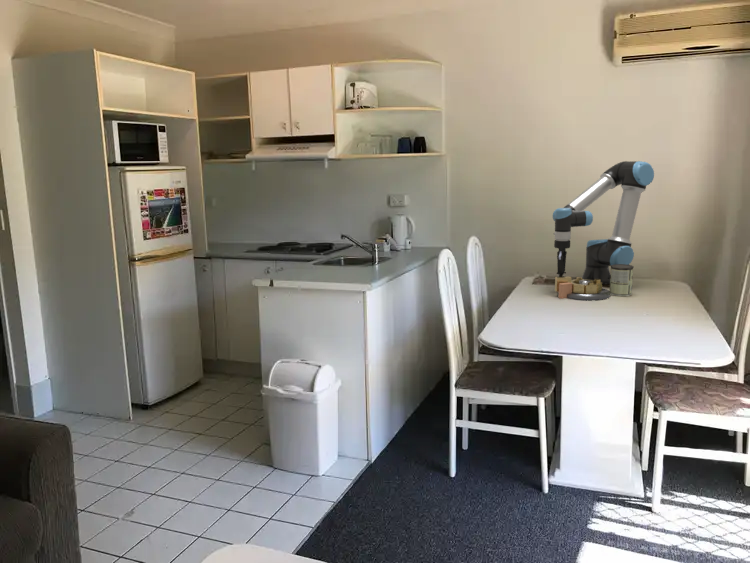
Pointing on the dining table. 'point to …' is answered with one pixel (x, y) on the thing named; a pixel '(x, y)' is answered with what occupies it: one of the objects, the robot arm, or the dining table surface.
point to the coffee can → (621, 280)
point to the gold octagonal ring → (580, 285)
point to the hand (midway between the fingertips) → (560, 286)
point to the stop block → (564, 290)
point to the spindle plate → (599, 296)
